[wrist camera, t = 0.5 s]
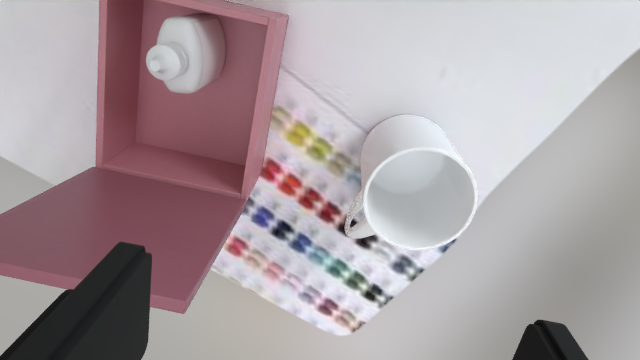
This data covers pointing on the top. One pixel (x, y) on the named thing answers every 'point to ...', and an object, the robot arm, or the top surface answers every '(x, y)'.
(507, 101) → the top surface
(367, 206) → the mug
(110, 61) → the pink open box
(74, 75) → the top surface
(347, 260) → the top surface
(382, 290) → the top surface
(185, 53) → the eye dropper bottle
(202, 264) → the lid
